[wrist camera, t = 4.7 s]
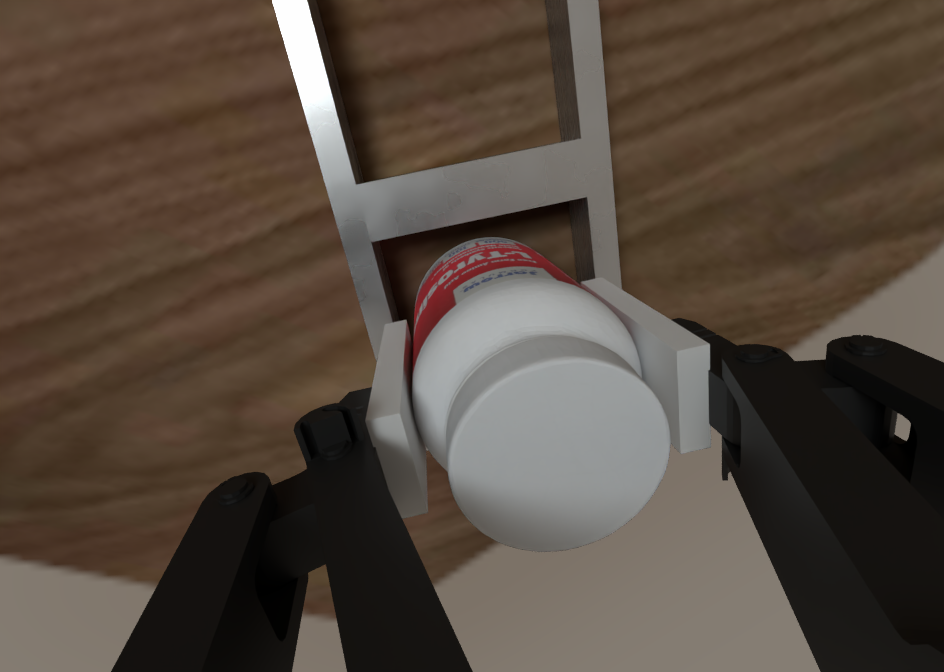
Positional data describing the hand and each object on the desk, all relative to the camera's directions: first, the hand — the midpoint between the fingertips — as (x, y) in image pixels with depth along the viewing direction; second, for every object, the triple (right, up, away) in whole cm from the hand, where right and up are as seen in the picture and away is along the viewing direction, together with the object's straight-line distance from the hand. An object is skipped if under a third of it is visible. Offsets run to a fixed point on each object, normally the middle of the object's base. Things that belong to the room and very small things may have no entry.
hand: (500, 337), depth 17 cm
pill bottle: (0, +1, +3) cm, 4 cm away
